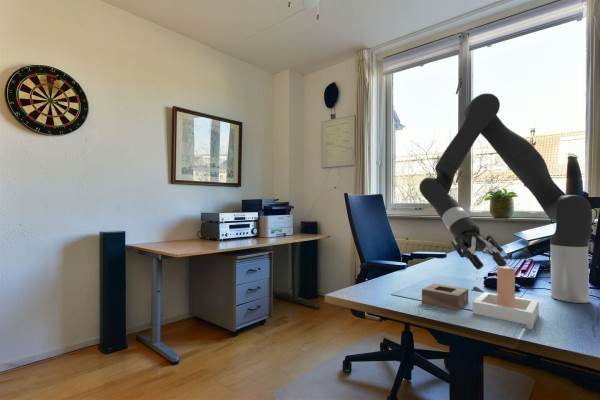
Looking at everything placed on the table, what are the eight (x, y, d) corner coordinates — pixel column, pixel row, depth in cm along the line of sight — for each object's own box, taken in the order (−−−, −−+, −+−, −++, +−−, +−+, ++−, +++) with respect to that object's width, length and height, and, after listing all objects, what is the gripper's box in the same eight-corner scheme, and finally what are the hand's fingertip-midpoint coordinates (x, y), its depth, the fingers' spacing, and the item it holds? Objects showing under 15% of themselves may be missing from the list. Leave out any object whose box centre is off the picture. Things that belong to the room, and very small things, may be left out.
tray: (484, 305, 94) (484, 292, 94) (538, 315, 85) (538, 300, 85) (472, 316, 84) (472, 301, 84) (532, 329, 76) (532, 312, 76)
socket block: (434, 299, 101) (434, 283, 101) (468, 305, 94) (468, 288, 94) (421, 306, 93) (421, 289, 93) (458, 314, 86) (458, 295, 86)
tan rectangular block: (498, 308, 88) (498, 265, 88) (515, 312, 85) (516, 267, 85) (495, 312, 85) (495, 267, 85) (513, 316, 82) (513, 270, 82)
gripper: (448, 216, 95) (480, 260, 84) (484, 215, 100) (520, 257, 89) (435, 232, 100) (465, 276, 89) (470, 231, 105) (503, 272, 94)
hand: (492, 266), depth 89 cm, fingers open, 8 cm apart
